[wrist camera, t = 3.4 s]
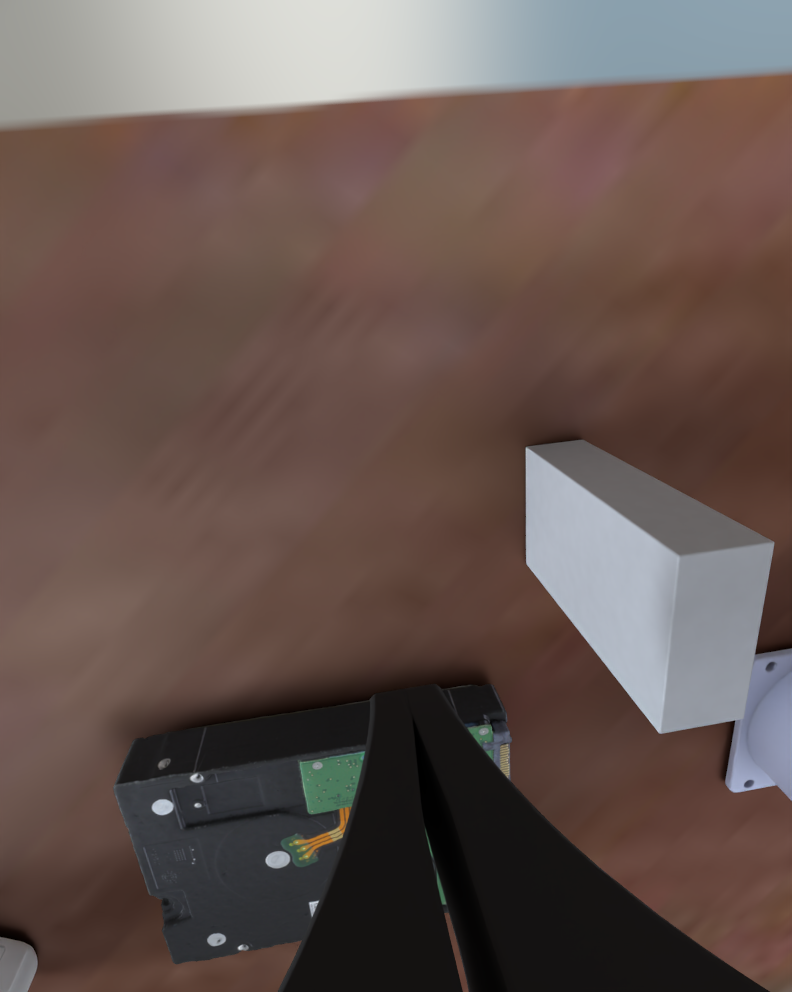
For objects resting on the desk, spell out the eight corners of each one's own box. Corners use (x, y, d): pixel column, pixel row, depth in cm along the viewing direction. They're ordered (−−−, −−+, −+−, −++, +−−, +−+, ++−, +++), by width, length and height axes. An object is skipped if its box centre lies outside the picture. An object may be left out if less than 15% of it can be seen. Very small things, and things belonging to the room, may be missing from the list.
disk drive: (189, 901, 25) (498, 845, 27) (174, 971, 23) (517, 905, 24) (131, 729, 22) (492, 672, 23) (104, 788, 19) (514, 721, 20)
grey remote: (587, 438, 20) (783, 540, 12) (583, 555, 22) (751, 718, 13) (525, 446, 20) (678, 556, 11) (525, 563, 21) (659, 734, 13)
